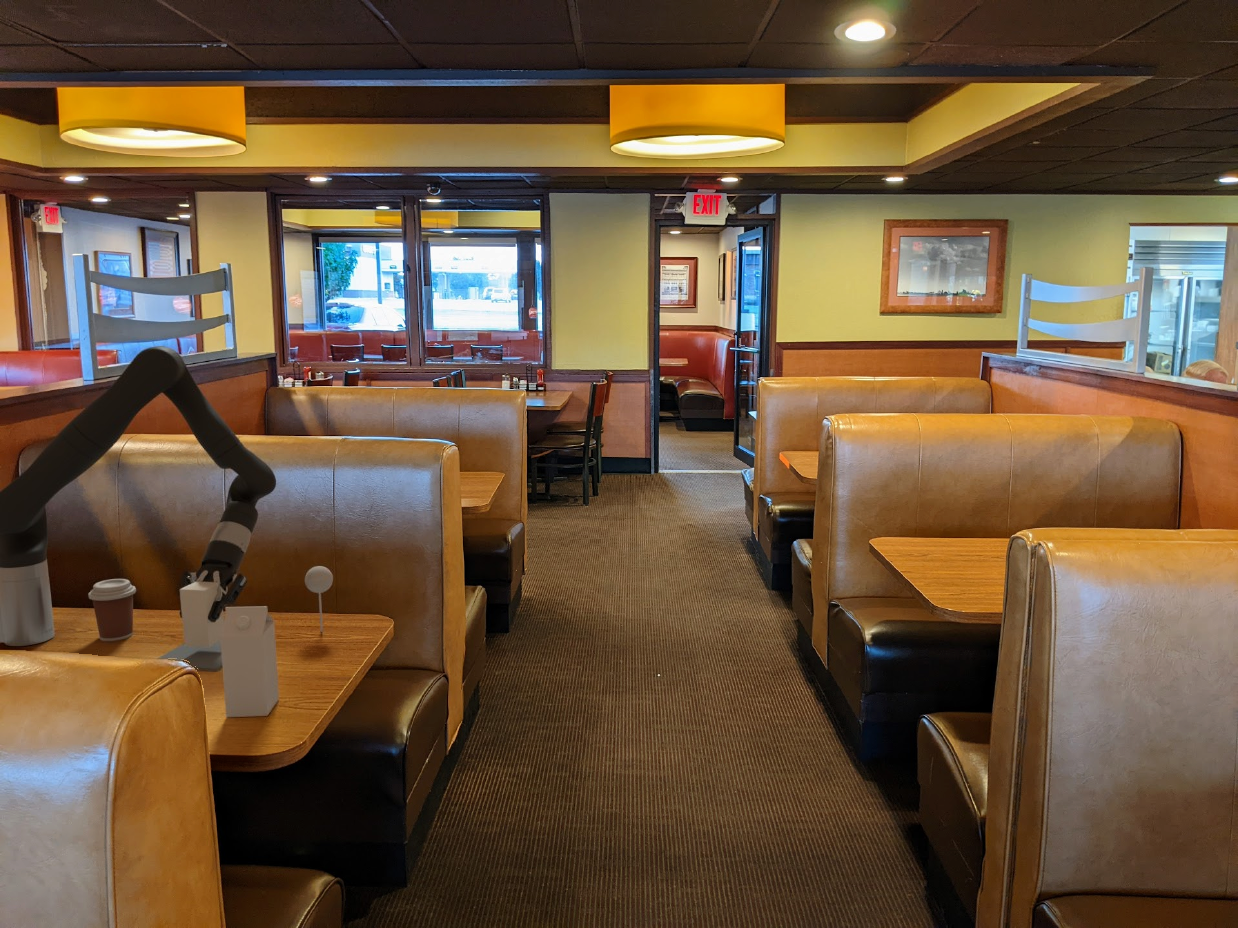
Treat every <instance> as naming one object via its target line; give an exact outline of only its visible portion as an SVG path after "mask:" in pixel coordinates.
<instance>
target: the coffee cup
mask: <svg viewBox="0 0 1238 928" xmlns="http://www.w3.org/2000/svg"><path fill="white" fill-rule="evenodd" d="M92 588H93V589H90V592H88V594H87V596H88V599H89V600H91V601H92V606H93V609H94V614H95V619H96V620H95V621H96V624H97V631H98V633H99V634H98V635H99V640H100V641H103V642H116V641H117V642H118V641H123V640H125V639H128V638H130V637H132V636H133V635H134V594H136V592H137V588H136V586H135V585H132V583H131V581H130V580H129V579H127V578H112V579H105V580H101V581H98V582H96V583H95V584H93V586H92Z"/></svg>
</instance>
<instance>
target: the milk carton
mask: <svg viewBox="0 0 1238 928" xmlns="http://www.w3.org/2000/svg"><path fill="white" fill-rule="evenodd" d="M223 618H224V622H223V627H222V631H221V635H220V639H221V653H222V666H223V668H222V680H223V692H224V702H225V703H224V704H225V706H224V707H225V716H226V718H238V717H239V718H241V717H247V718H248V717H265V716H266V717H267V716H268V715H269V714H270V712H271V711H272V710H273V708H274V707H275V706H276V704H277V703H278V701H279V700H280V693H279V681H278V680H279V676H278V660H277V646H276V631H275V630H276V629H275V621H274V619H273V618H272V616H271V615H270V613H269V612H268V606H266V605H264V606H261V605H260V606H225V614H224V617H223Z"/></svg>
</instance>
